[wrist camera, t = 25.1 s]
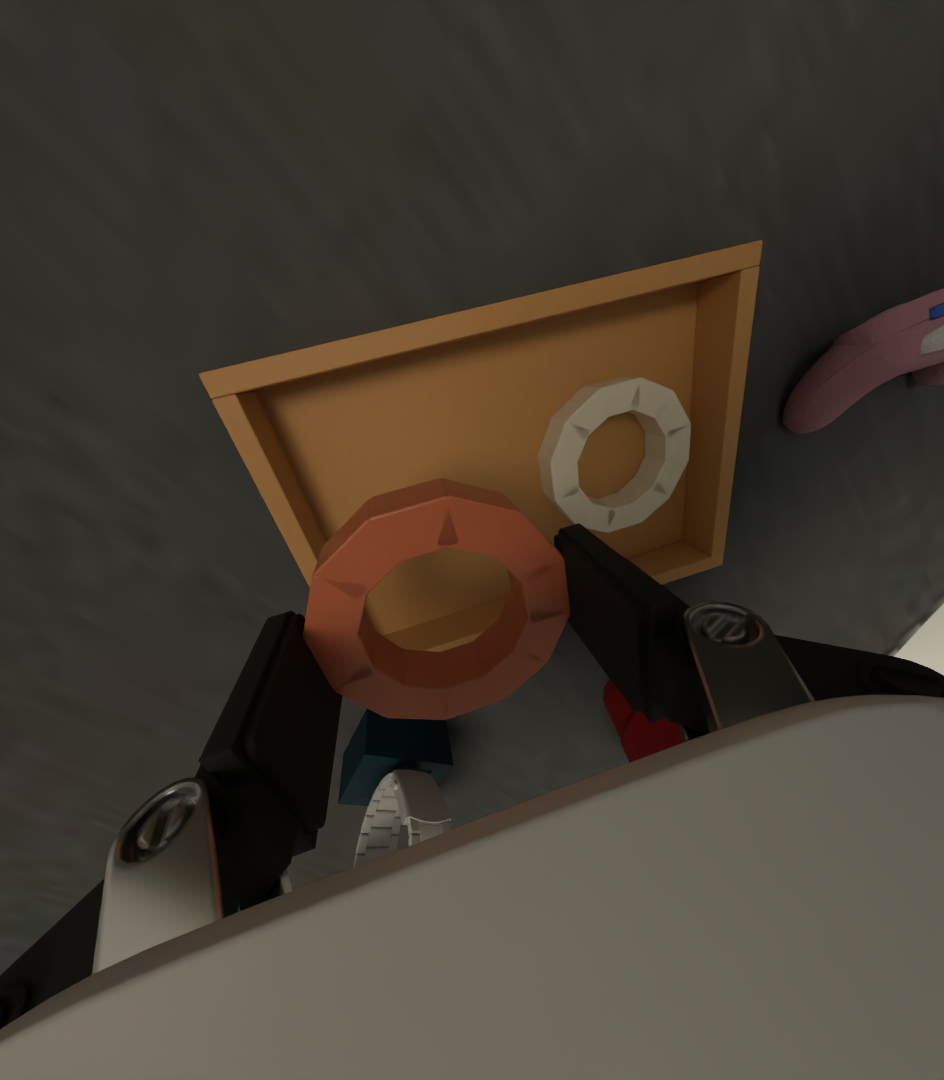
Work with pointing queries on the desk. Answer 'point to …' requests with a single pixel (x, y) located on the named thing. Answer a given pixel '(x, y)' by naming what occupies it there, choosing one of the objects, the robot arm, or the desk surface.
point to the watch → (396, 781)
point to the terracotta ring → (414, 530)
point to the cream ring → (658, 466)
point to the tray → (501, 426)
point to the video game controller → (871, 362)
